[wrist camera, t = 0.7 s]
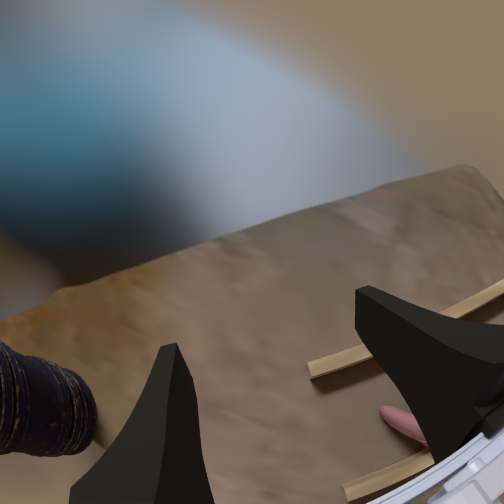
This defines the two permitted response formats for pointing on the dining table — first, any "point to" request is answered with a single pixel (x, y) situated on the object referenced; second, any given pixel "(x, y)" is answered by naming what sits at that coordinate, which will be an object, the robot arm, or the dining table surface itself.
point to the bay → (361, 354)
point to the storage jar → (43, 407)
